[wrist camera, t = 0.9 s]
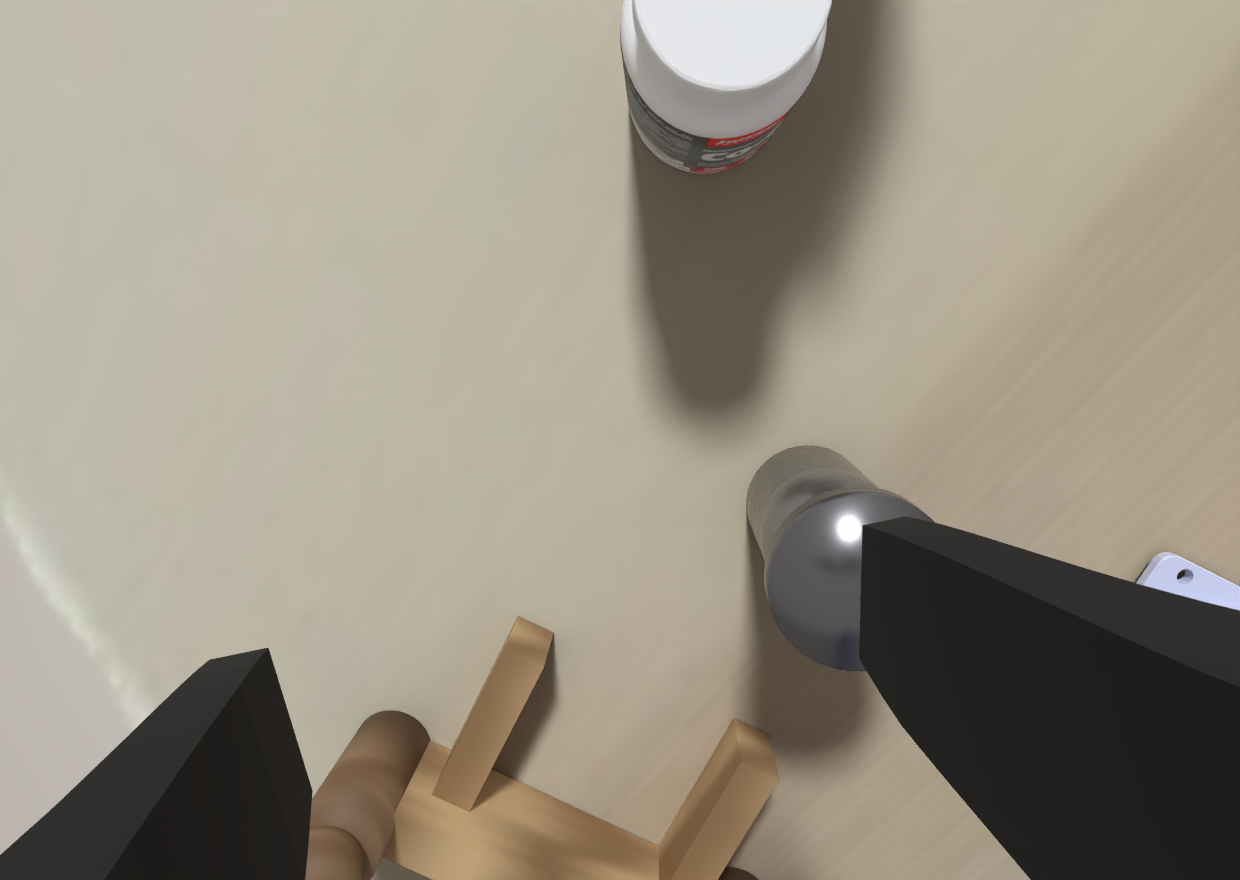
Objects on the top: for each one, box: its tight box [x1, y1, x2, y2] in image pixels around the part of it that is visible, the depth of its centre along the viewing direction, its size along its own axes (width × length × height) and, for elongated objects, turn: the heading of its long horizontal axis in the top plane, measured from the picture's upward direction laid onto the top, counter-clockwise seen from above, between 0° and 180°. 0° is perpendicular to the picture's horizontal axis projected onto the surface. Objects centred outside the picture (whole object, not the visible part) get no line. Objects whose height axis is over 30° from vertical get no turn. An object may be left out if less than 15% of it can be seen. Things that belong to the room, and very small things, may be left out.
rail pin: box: [746, 446, 935, 671], centre depth 22 cm, size 5×5×7 cm
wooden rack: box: [305, 616, 779, 880], centre depth 24 cm, size 17×8×7 cm, turn 64°
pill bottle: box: [620, 0, 832, 174], centre depth 19 cm, size 5×5×8 cm
